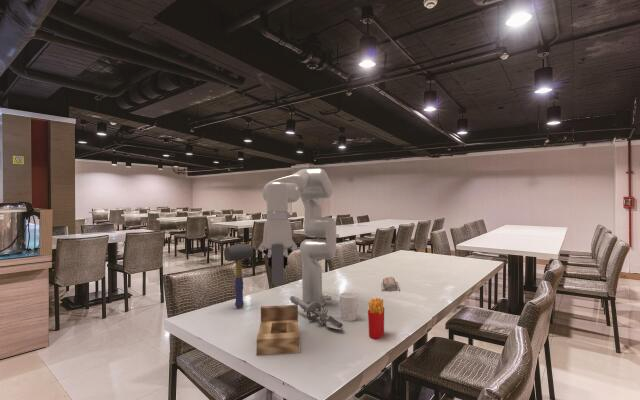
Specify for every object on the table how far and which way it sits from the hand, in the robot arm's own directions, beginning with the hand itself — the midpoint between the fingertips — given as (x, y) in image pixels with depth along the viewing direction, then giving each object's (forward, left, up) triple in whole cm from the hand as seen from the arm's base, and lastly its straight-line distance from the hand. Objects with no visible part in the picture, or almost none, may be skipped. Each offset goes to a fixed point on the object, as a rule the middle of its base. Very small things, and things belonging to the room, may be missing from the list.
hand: (278, 267), depth 112 cm
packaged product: (-62, -64, -27) cm, 94 cm away
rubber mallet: (+20, -40, -27) cm, 52 cm away
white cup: (-29, -19, -27) cm, 44 cm away
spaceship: (-14, -19, -27) cm, 36 cm away
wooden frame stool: (0, 0, -26) cm, 26 cm away
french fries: (-36, -1, -27) cm, 45 cm away
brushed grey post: (0, 0, -5) cm, 5 cm away
